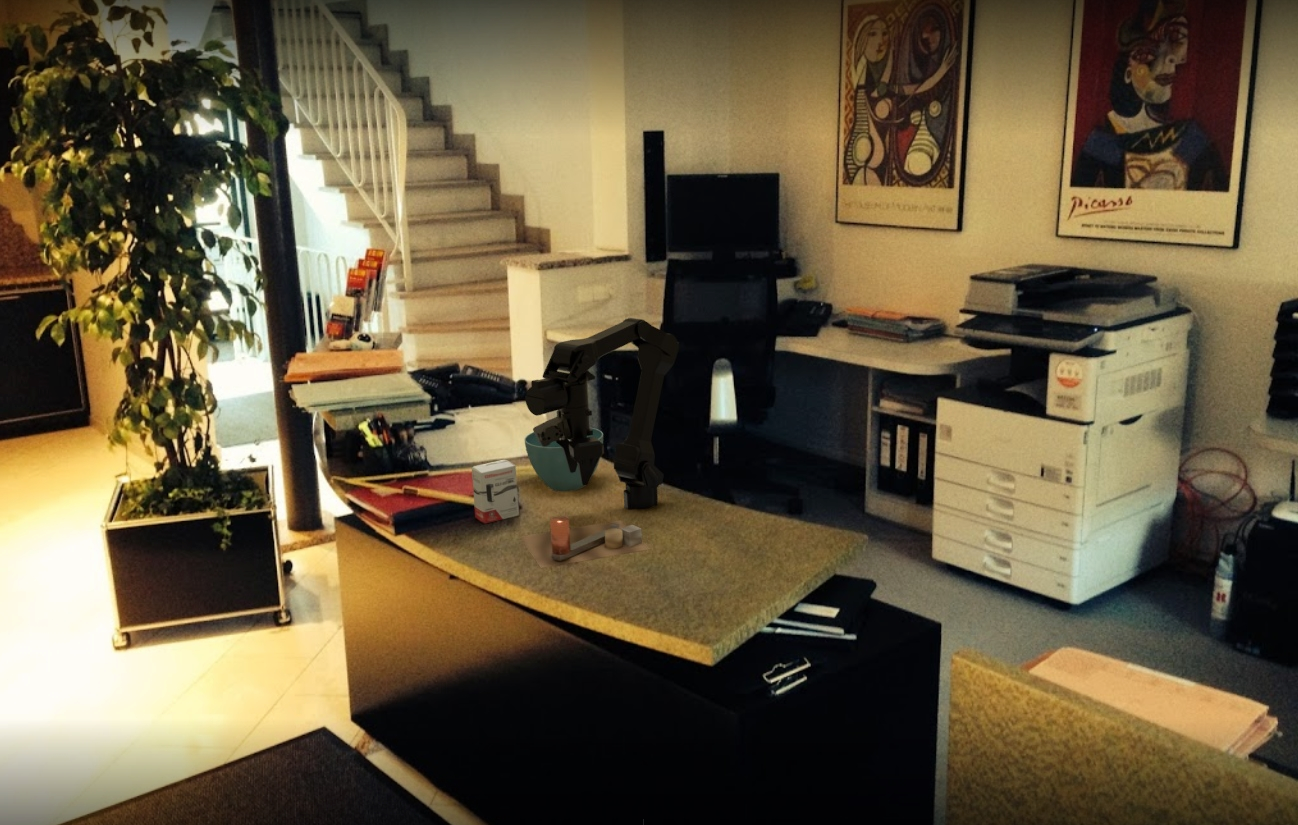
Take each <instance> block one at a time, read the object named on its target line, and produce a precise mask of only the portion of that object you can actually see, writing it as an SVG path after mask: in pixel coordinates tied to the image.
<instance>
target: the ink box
mask: <svg viewBox="0 0 1298 825" xmlns="http://www.w3.org/2000/svg"><path fill="white" fill-rule="evenodd" d="M516 467H517V466H516V465H515V464H514V463H512V462H511V461H509V460H507V459H501V460H497V461H496V460H495V461H492V462H488V463H484V464H478V465H474V466H473V467H472V468H471V475H472V476H471V478H472V490H473V504H474V506H473V507H474V516H475V519H477V520H478V521H480V522H481V523H483V524H489V523H493V522H497V521H501V520H505V519H510V518H514V517H517V516H520V510H519V509H520V508H519V494H518V483H517V482H518V481H517V468H516Z"/></svg>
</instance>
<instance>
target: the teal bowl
mask: <svg viewBox="0 0 1298 825" xmlns="http://www.w3.org/2000/svg"><path fill="white" fill-rule="evenodd" d="M590 428H591V429H592V430H593V435H590V436H587V437H595V438H597V439H598V440H599V441H600V442H601V443H602V444H604V433H603V432H602V431H601V430H600V429H597V428H593V427H590ZM524 445H525V450H526V453H527V456H528V460H529V461H530V465H531V466H532V468H533V470H534V472H535V473H536V475H537V476H538V478H539V479H540V480H541V481H542V482H543V483H544V484H545V486H547V488H549V489H550V490H551V491H554V492H563V493H565V492H567V493H568V492H574V491H579V490H581V489H583V488H584V487H585V486H586V485H584V486H583V485H582V481H581V477H580V473H579V468H578V465H577V468H576V472H574V473H571V472H570V470H569V467H568V464H567V461H566V458H565V455H564V452H563V449H562V447H561V446H560V445H559V444H558V443H556V442H555V441H554V442H552V443H550V445H548V446H545V447H543V446H542V445H541V444H540V443H539V442H538V440H537V438H536V435H535V433H534V431H532V432H531V433H529V434H527V435H526V436H525V438H524ZM600 460H601V457H600V458H599V460H598V462H597V465H596V467H595V469H594V471H593V474H592V476H591V478H592V477H593V476H594V473H595V472H596V470H597V468H598V465H599V462H600Z"/></svg>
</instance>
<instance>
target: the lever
mask: <svg viewBox="0 0 1298 825" xmlns="http://www.w3.org/2000/svg"><path fill="white" fill-rule="evenodd" d="M549 527H550V532H551V543H552V552H551V557H552V559H555V560H558V561H562V560H564V559H567V558H569V557H571V556H573V555H576V554H578V553H580V552H583V551H585V550H587V549H590V548H592V547H594V546H596V545H599V544H601V543H603V542H605V531H606V530H603V531H601V532H599V533H596V534H594V535H591V536H589V537H587V538H584V539H582V540H580V541H577V542H575V543H573V544H570V530H569V528H570V519H569V517H568V516H561V515H560V516H554V517H551V518H550V519H549Z"/></svg>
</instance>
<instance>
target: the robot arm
mask: <svg viewBox="0 0 1298 825" xmlns="http://www.w3.org/2000/svg"><path fill="white" fill-rule="evenodd" d="M630 343H631V344H632V345H633V346H635V347H636V348H637V349H638V350H637V360H638V363H639V366H640V370H641V372H640V378H639V383H638V388H637V394H636V396H635V402H634V407H633V413H632V417H631V422H630V427H629V429H628V430H629V431H628V435H627V437H626V438H625V440H623V442H617V443H616V444H615V451H614V455H613V458H612V461H613V469H614V471H615V473H616V474H617V476H618V480H619V482H620V483H625V489H624V490H623V507H624V508H625V509H627V510H642V511H643V510H650V509H651V508H654V507H656V506H658V505H659V502H658V501H659V500H658V488H659V486H660V485H662V484H663V482H664V476H665V474H664V473H663V472H662V471H661V470H660V469H659V468H658V466H656V465H655V458H656V455H655V451H654V450H655V449H654V447H653V445H652V444H653V443H652V436H653V432H654V426H655V422H656V417H657V413H658V409H659V403H660V398H661V394H662V390H663V389H662V388H663V384H664V381H665V380H664V378H665V376H666V375H667V374H668V372H669V371H670V370H671V369H672V367H673V366H674V364H675V362H676V359H677V356H678V354H679V349H680V344H679V343H680V342H678V339H677V338H676V336H675V335H674V334H672V333H667V332H665V331H664V330H661V329H659V328H658V327H655V326H654V325H652V324H650V323H649V322H648V321H646V320H645V319H642V318H633V317H628V318H625V319H624V320H622V322H620V323H617V324H615V325H612V326H610V327H608V328H606V329H604V330H602V331H600V332H598V333H597V332H596V333H595V334H593V335H590V336H589V337H584V338H575V339H569V340H564V341H560V342H558V343H556V344H555V345H554V347H553V351H552V353H551V356H550V359H549V360H548V363H547V365H546V366H545V367H546V368H545V369H544V371H543V373H542V378H541V379H533V380H531V382H530V383H531V384H530V385H531V386H530V387H529V388H528V389H527V391H526V395H525V404H526V407H527V409H528V411H529V412H530V413H531V414H532V415H534V416H536V417H537V416H542V415H546V414H548V413H552V412H556V417H555V416H554V417H552V418H551V419H548V420H546V421H544V422H542V423H539V424H538V425H536V426H534V427H533V428H532V430H533V431H532V432H534V433H535V435H536V438H537V440H538V442H539V443H540V444H541V445H542V446H543V447H545V446H548V445H550V443H552V442H554V441H555V442H556V443H558V444H559V445H560V446H561V447H562V449H563V452H564V455H565V458H566V461H567V464H568V467H569V470H570V472H571V473H574V472H576V468H577V465H578V468H579V473H580V477H581V481H582V485H583V486H584V485H585V486H588V485H589V483H590V481H591V479H592V477H593V475H594V474H593V471H594V469H595V467H596V465H597V462H598V460H599V458H600V459H601V458H602V456H603V455H604V454H605V446H604V443H603V444H602V443H601V442H600V441H599V440H598V439H597V438H595V437H587V436H590V435H593V430H592V429H591V428H592V427H591V424H590V421H591V420H590V417H591V416H593V411H592V409H591V408H590V404H589V391H588V390H589V388H588V382H589V381H593V380H595V379H596V378H597V377H596V375H595V374H593V373H592V372H590V369H592V368H593V367H594V366H595V365H596V364H597V362H598V360H599V359H600V358H601V357H603V356H605V355H607V354H610V353H612V352H614V351H616V350H618V349H620V348H622V347H624V346H626V345H628V344H630ZM599 461H600V460H599ZM592 474H593V475H592ZM591 476H592V477H591ZM585 486H584V487H585Z"/></svg>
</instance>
